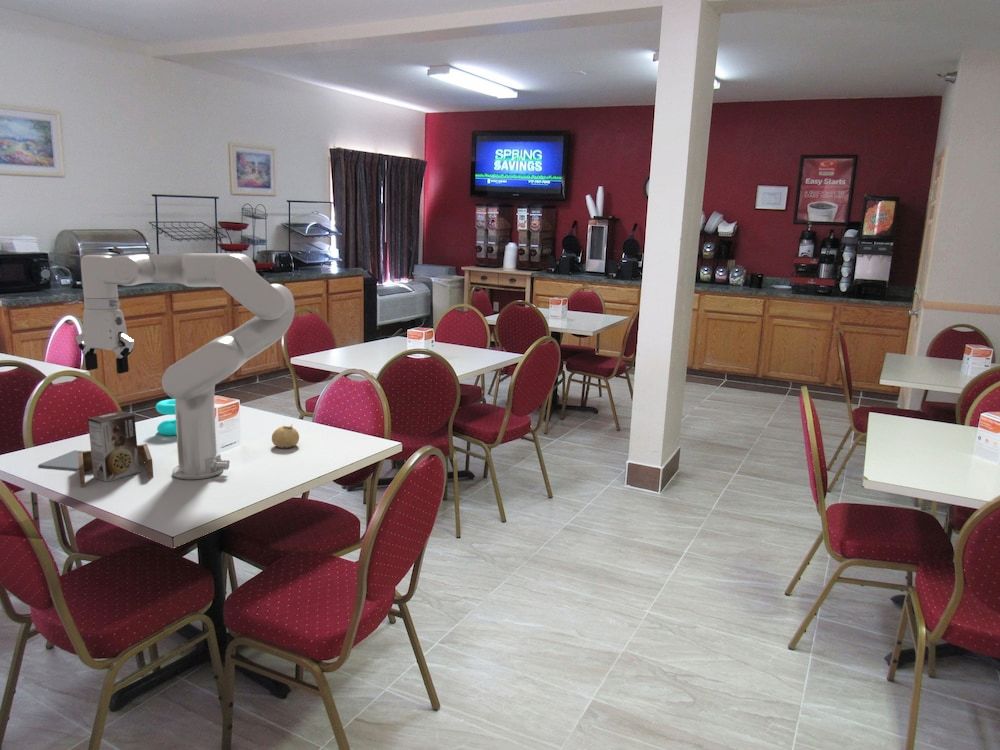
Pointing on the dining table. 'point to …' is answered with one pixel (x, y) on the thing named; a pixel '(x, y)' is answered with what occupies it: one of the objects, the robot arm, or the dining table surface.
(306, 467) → the dining table surface
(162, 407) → the donuts
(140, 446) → the walnut cubby
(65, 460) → the charcoal mat
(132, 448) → the coffee box
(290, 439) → the onion
